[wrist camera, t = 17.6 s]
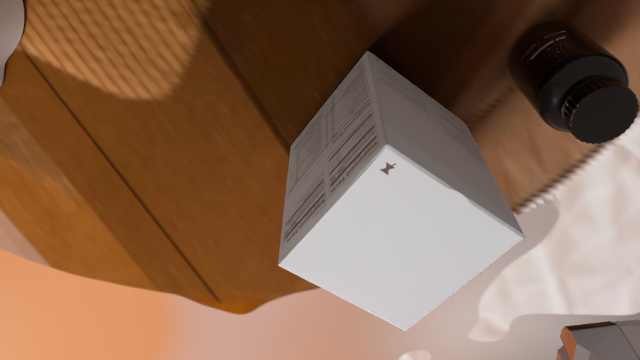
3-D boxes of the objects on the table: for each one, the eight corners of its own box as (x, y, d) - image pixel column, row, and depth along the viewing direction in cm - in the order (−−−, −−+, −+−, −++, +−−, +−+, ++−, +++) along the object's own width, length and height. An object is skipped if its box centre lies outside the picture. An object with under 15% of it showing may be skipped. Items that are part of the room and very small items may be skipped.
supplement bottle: (528, 10, 43) (590, 59, 33) (597, 30, 44) (678, 84, 34) (493, 81, 47) (539, 144, 37) (557, 98, 48) (619, 164, 38)
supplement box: (286, 147, 51) (271, 266, 36) (366, 46, 45) (387, 141, 30) (384, 207, 55) (406, 335, 41) (469, 123, 49) (530, 237, 35)
